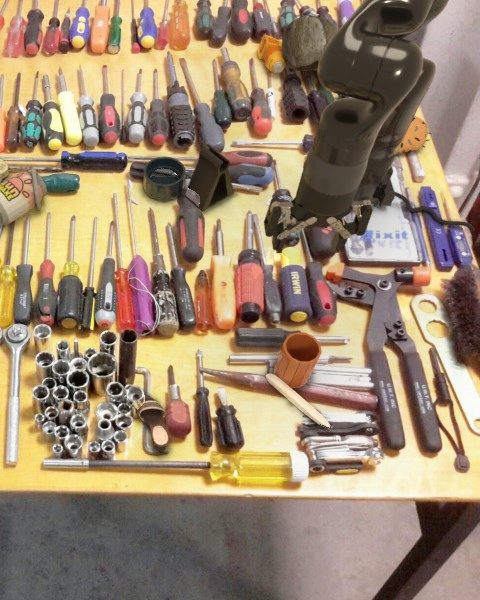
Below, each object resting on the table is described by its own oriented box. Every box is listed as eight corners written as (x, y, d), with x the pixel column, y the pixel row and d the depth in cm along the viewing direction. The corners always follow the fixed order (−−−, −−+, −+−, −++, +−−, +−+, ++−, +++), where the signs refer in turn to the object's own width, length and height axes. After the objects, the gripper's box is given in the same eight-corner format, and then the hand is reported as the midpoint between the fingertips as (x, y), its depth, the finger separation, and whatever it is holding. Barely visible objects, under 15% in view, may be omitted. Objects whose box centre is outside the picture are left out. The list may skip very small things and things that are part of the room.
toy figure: (263, 76, 158) (256, 51, 166) (284, 80, 159) (276, 55, 166) (272, 57, 154) (264, 32, 161) (293, 61, 155) (284, 35, 162)
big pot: (183, 173, 142) (185, 156, 138) (184, 202, 137) (186, 186, 133) (143, 173, 143) (144, 156, 139) (143, 202, 138) (143, 185, 134)
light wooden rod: (326, 435, 105) (329, 431, 103) (262, 378, 111) (264, 374, 110) (332, 429, 105) (335, 425, 104) (268, 373, 112) (270, 368, 111)
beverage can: (11, 237, 135) (54, 208, 139) (5, 211, 128) (51, 181, 132) (-14, 212, 139) (28, 185, 143) (-21, 186, 132) (24, 158, 136)
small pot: (306, 359, 113) (318, 332, 106) (310, 389, 110) (323, 364, 102) (272, 358, 114) (282, 331, 106) (275, 387, 110) (286, 362, 103)
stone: (270, 31, 154) (299, 32, 164) (288, 88, 155) (316, 86, 165) (316, 3, 145) (344, 6, 155) (336, 64, 145) (362, 64, 155)
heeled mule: (157, 394, 111) (157, 384, 108) (177, 451, 105) (177, 442, 102) (132, 400, 111) (132, 390, 108) (151, 458, 105) (151, 449, 101)
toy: (415, 116, 145) (424, 102, 140) (434, 151, 141) (445, 137, 137) (364, 129, 145) (372, 115, 140) (383, 164, 141) (391, 151, 136)
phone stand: (201, 211, 135) (207, 170, 125) (184, 195, 138) (188, 154, 128) (233, 193, 137) (241, 151, 128) (215, 178, 141) (222, 136, 131)
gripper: (281, 194, 83) (261, 268, 96) (394, 192, 81) (358, 267, 95) (274, 154, 87) (256, 230, 100) (381, 152, 85) (349, 229, 99)
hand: (306, 248), depth 97 cm, fingers open, 8 cm apart
